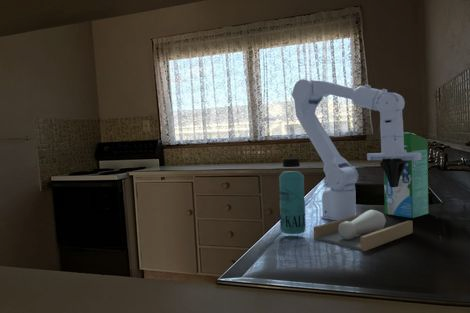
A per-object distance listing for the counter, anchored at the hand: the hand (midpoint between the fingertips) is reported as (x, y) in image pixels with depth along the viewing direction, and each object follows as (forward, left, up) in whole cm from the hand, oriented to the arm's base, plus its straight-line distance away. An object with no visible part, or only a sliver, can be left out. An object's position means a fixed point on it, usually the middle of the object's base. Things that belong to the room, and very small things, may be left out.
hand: (394, 186), depth 103 cm
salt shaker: (+2, -11, -7) cm, 13 cm away
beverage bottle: (-11, -28, -11) cm, 32 cm away
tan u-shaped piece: (+1, -16, -10) cm, 19 cm away
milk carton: (-4, +15, -11) cm, 19 cm away
